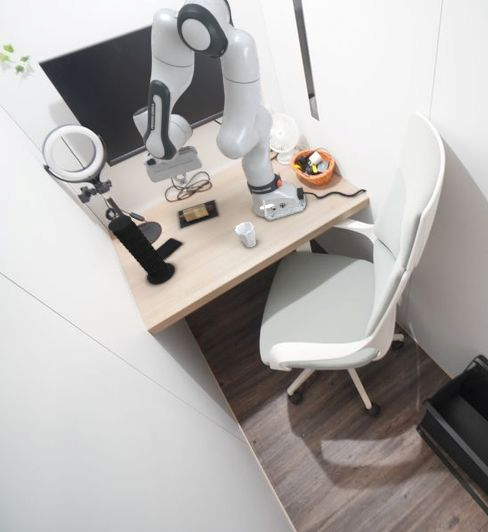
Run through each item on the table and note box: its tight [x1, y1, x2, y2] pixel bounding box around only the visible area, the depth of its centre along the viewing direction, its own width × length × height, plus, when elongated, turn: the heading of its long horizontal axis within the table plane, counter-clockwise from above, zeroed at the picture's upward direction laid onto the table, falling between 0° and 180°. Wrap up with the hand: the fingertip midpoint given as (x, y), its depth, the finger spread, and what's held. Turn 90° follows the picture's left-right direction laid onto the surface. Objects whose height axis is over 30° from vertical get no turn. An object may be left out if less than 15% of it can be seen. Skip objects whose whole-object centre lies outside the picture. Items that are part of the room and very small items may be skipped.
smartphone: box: [155, 237, 182, 260], centre depth 124 cm, size 7×1×15 cm
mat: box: [178, 199, 219, 229], centre depth 139 cm, size 16×12×1 cm
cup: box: [232, 221, 257, 248], centre depth 121 cm, size 7×10×8 cm
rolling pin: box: [178, 203, 213, 222], centre depth 135 cm, size 5×14×5 cm, turn 113°
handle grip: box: [107, 214, 176, 285], centre depth 108 cm, size 10×26×10 cm
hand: (184, 183), depth 131 cm, fingers closed
